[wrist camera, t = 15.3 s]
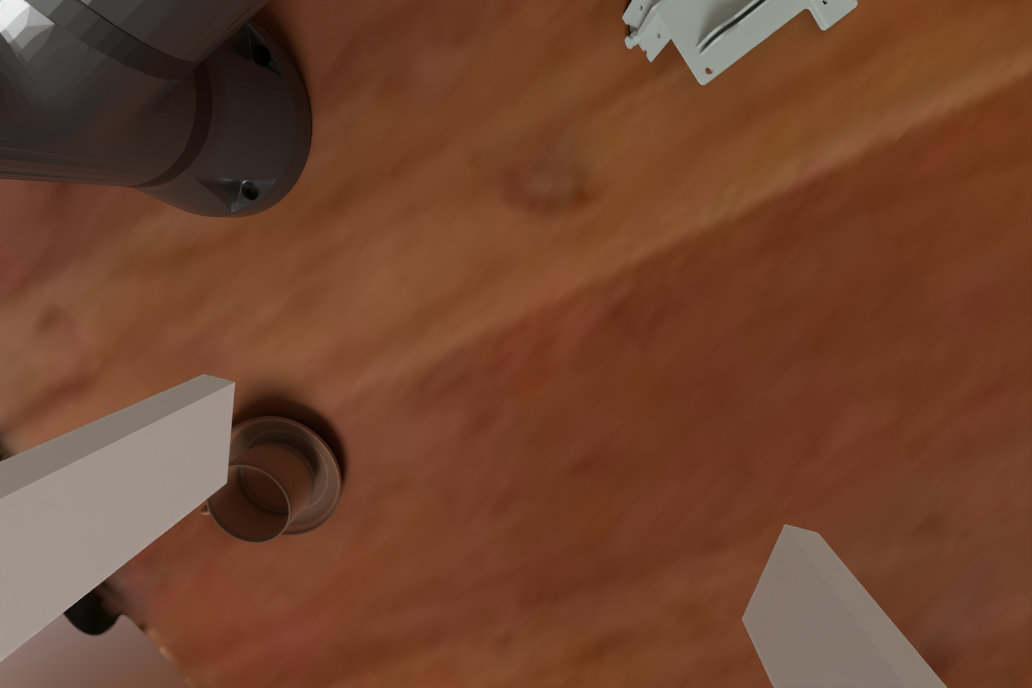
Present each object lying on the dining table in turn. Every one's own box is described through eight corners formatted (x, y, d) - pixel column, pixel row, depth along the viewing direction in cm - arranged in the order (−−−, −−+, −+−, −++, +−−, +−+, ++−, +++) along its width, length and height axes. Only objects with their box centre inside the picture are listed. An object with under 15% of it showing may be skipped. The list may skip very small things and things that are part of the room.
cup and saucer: (290, 544, 47) (251, 590, 41) (204, 456, 46) (150, 490, 40) (375, 480, 45) (346, 519, 39) (286, 384, 43) (242, 409, 37)
